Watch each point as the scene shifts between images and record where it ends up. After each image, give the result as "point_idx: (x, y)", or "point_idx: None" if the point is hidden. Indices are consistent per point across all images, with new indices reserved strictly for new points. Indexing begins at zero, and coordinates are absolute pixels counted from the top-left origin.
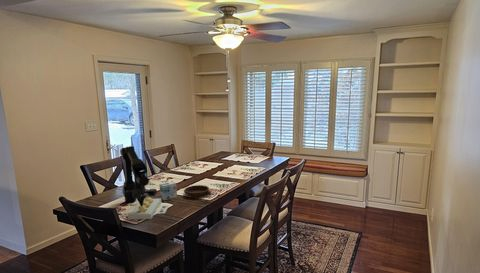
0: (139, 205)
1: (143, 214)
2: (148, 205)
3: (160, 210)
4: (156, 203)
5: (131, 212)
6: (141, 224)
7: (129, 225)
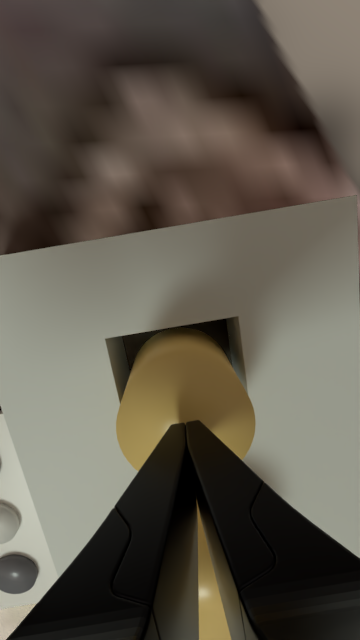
0: None
1: (80, 242)
2: None
3: (6, 488)
4: None
5: (330, 305)
6: (38, 56)
7: (208, 7)
